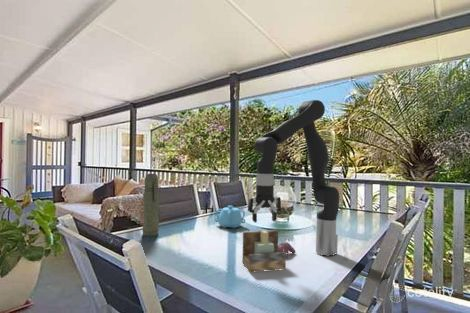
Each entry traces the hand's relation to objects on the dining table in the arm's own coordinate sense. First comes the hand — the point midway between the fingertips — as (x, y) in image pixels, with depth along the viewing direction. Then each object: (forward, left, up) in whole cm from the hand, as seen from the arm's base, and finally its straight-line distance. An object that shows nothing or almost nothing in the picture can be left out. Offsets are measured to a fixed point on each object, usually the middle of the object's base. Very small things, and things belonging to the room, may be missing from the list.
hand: (264, 221), depth 130 cm
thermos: (+47, -59, -20) cm, 78 cm away
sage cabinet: (0, 0, -15) cm, 15 cm away
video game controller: (-16, -11, -20) cm, 27 cm away
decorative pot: (-3, -69, -20) cm, 72 cm away
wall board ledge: (0, +1, -19) cm, 19 cm away
